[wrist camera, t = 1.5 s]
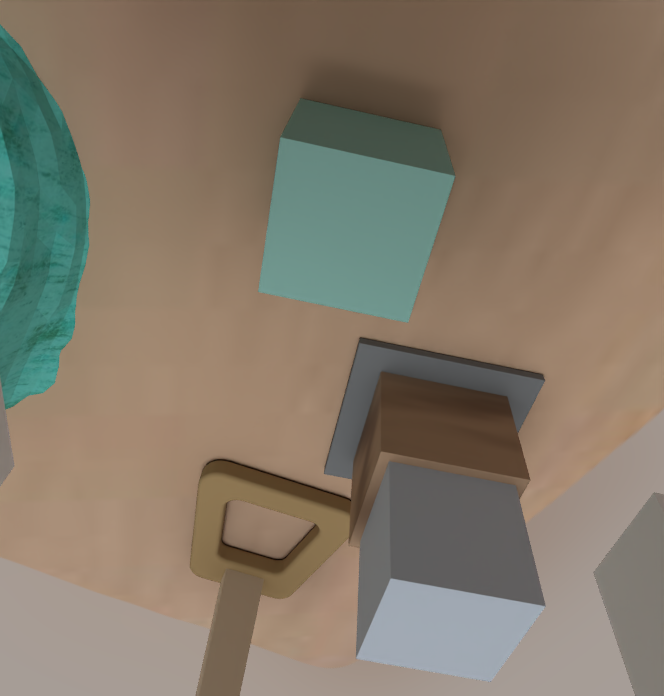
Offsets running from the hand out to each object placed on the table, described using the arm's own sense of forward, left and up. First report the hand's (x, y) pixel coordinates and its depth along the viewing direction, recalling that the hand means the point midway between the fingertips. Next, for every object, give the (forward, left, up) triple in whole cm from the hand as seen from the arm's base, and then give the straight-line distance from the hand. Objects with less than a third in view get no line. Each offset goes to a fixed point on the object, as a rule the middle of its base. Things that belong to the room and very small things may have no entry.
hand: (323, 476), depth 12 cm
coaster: (+13, +7, -17) cm, 23 cm away
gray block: (+13, +7, -11) cm, 18 cm away
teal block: (0, 0, -17) cm, 17 cm away
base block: (+13, +7, -17) cm, 22 cm away
